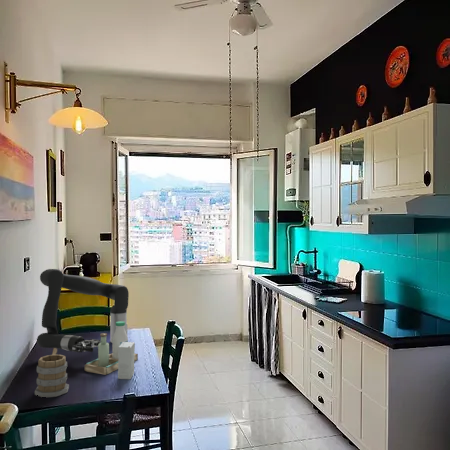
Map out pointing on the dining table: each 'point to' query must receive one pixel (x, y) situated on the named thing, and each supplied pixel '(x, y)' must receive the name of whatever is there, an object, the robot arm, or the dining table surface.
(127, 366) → the skincare box
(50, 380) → the tankard
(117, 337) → the milk bottle
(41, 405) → the dining table surface
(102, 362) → the sage bottle
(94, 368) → the frame
